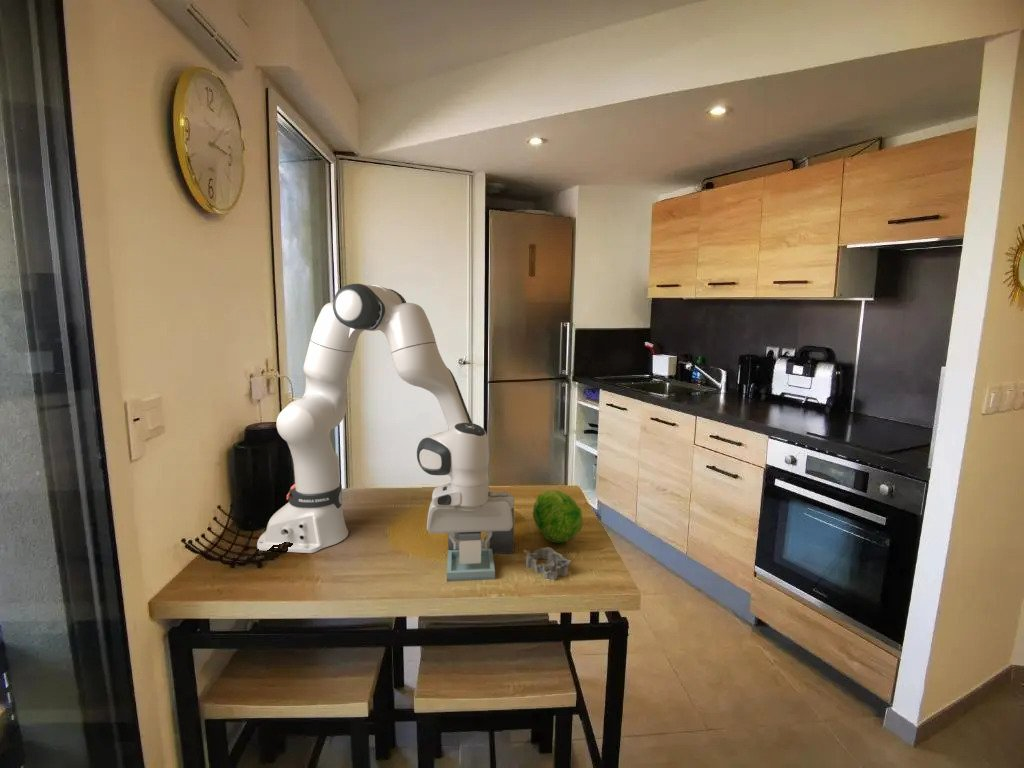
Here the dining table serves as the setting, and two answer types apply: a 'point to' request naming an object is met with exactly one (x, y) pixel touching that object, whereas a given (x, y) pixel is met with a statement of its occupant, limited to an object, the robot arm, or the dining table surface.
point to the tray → (470, 567)
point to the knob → (450, 544)
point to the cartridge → (469, 547)
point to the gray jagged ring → (548, 563)
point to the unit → (502, 540)
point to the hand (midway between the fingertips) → (470, 548)
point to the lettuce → (557, 516)
